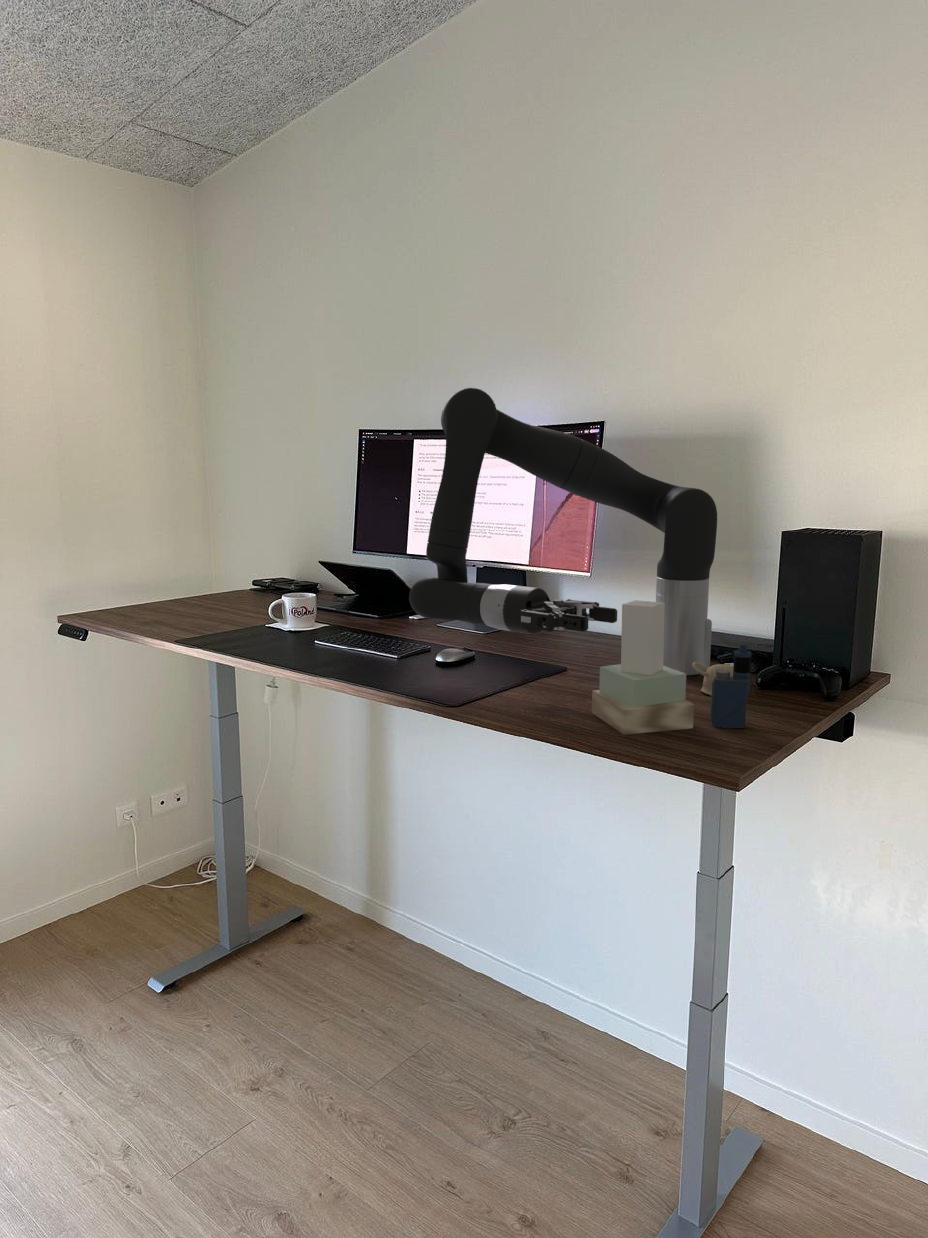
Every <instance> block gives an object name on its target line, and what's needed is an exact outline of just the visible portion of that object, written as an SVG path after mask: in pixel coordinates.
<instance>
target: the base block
mask: <svg viewBox="0 0 928 1238" xmlns="http://www.w3.org/2000/svg"><path fill="white" fill-rule="evenodd" d="M591 692H592V694H591V695H592V698H591V699H592V701H591V713H592V714H593V715H595V716H596V717H598V719H600V720H602V721H603V722H604V723H606V724H607V725H609V726H610V727H611V728H614V729H615V730H616V731H617V732H619V733H620V734H622V735H634V734H635V735H636V734H645V733H654V732H655V733H656V732H657V733H658V732H666V731H668V732H669V731H677V730H678V731H679V730H688V729H693V728H694V718H695V717H694V715H695V704H694V703H693V702H691V701H689V700H686V699H685V701H678V702H670V703H663V704H656V705H649V706H642V707H635V708H633V707H631V706H629V705H626V704H624V703H622V702H620V701H618V700H615V699H613V698H611V697H609V696H607V695H604V694H602V693H600V692H599V689H596V690H595V689H594V690H593V689H592V691H591Z"/></svg>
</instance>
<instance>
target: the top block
mask: <svg viewBox="0 0 928 1238" xmlns="http://www.w3.org/2000/svg"><path fill="white" fill-rule="evenodd" d="M598 688H599V689H598V690H599V692H600V693H602V694H604V695H607V696H609V697H611V698H613V699H615V700H618V701H620V702H622V703H624V704H626V705H629V706H631V707H633V708H635V707H642V706H649V705H656V704H663V703H670V702H678V701H685V700H686V692H687V691H686V690H687V689H686V688H687V675H686V674H685V673H683V672H680V671H677V670H674V669H671V668H669V667H666V666H663V670H661V671H659V672H657V673H654V674H652V675H643V674H635V673H628V672H621V663H619V664H612V665H610V664H609V665H603V666H599V686H598Z"/></svg>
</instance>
